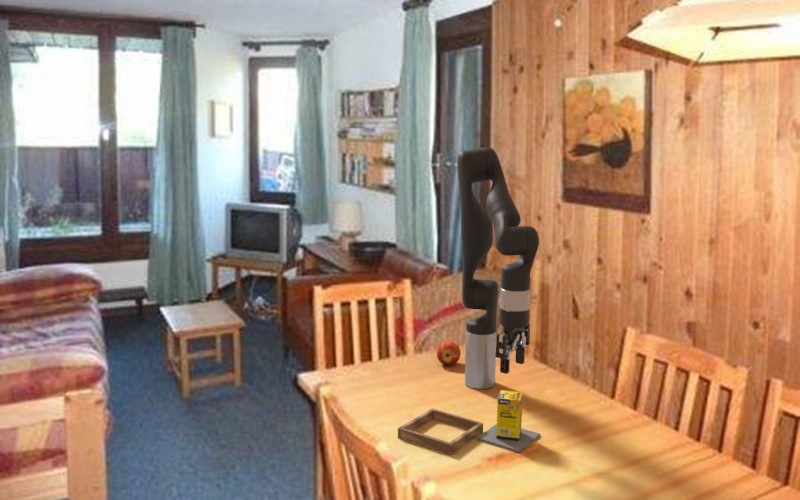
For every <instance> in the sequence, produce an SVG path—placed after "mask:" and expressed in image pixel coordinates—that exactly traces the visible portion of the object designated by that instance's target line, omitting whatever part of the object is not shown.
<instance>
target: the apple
mask: <svg viewBox="0 0 800 500" xmlns="http://www.w3.org/2000/svg"><path fill="white" fill-rule="evenodd" d="M436 357H437V360H438V362H440V363H441V364H442V365H445V366H453V365H455V364H457V362H459V360H460V358H461V349H460V346H459V345H458V344H457V343H456V342H454V341H451V340H447V341H444V342H442V343H441V344H440V345H439V346H438V347H437V350H436Z"/></svg>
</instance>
